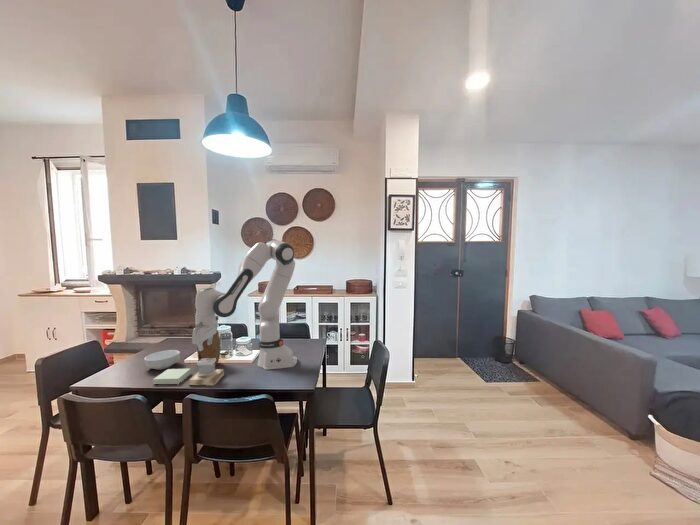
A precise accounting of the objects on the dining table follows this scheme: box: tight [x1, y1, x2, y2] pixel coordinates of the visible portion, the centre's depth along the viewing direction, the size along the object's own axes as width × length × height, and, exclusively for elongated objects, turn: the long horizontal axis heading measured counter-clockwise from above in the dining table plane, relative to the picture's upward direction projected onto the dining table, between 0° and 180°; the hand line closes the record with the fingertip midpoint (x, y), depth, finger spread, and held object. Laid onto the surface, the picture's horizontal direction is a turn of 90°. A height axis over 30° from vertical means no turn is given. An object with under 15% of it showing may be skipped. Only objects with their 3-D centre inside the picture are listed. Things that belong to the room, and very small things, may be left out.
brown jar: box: [197, 329, 221, 366], centre depth 164 cm, size 11×8×20 cm
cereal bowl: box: [143, 349, 181, 370], centre depth 162 cm, size 17×17×7 cm
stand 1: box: [152, 368, 192, 385], centre depth 146 cm, size 12×12×3 cm
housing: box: [196, 358, 217, 377], centre depth 145 cm, size 7×6×7 cm
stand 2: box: [188, 368, 225, 386], centre depth 145 cm, size 12×12×3 cm
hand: (205, 347), depth 144 cm, fingers open, 8 cm apart
